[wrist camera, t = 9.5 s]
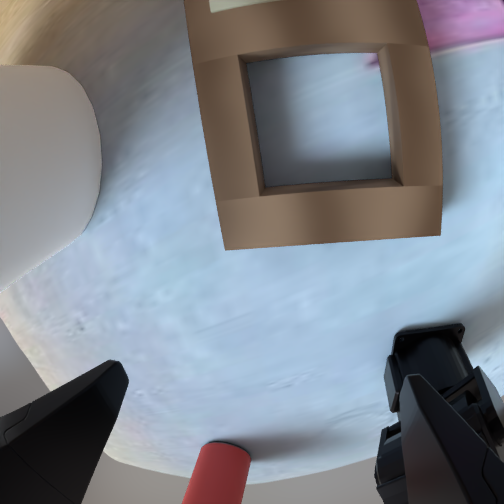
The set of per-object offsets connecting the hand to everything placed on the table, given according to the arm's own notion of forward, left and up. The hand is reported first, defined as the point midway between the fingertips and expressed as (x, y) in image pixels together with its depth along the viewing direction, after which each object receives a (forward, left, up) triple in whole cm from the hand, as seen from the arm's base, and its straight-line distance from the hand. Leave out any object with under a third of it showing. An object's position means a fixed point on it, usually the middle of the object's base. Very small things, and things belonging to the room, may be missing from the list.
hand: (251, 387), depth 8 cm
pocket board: (-3, -13, -13) cm, 19 cm away
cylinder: (+21, -9, -13) cm, 26 cm away
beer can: (+10, +29, -13) cm, 33 cm away
